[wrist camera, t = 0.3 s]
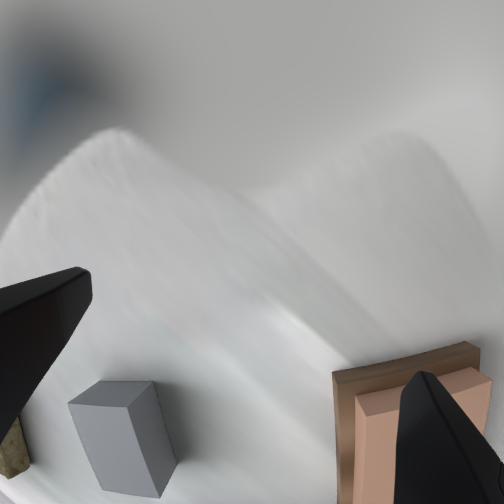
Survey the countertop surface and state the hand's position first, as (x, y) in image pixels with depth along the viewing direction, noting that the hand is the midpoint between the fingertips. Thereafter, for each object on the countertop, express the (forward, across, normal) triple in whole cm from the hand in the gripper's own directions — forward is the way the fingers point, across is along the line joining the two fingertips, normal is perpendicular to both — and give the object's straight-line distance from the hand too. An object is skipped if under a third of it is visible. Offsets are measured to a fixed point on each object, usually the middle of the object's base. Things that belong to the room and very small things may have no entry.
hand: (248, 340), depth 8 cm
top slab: (+6, -14, +14) cm, 20 cm away
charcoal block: (+6, +7, +19) cm, 21 cm away
